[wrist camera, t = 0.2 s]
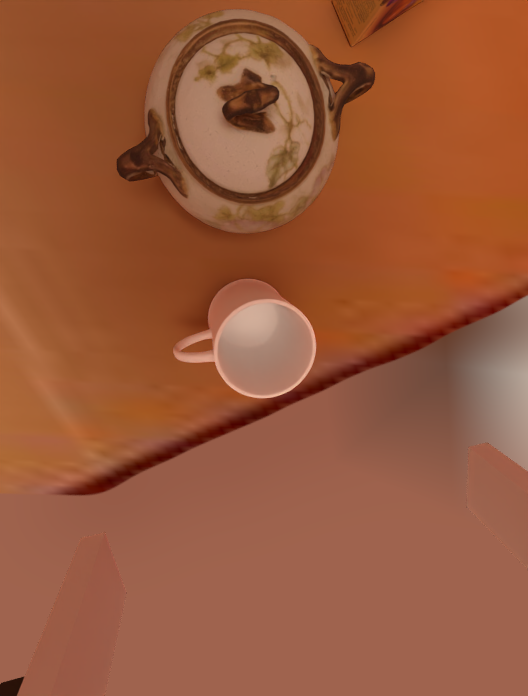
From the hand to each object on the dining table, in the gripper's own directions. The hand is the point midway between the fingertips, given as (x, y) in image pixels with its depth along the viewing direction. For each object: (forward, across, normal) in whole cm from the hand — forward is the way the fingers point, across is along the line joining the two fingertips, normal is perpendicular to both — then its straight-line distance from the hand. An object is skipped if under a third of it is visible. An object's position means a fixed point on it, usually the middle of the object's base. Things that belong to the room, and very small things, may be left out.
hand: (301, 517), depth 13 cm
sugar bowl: (+28, +3, +17) cm, 33 cm away
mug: (+28, 0, +1) cm, 28 cm away
